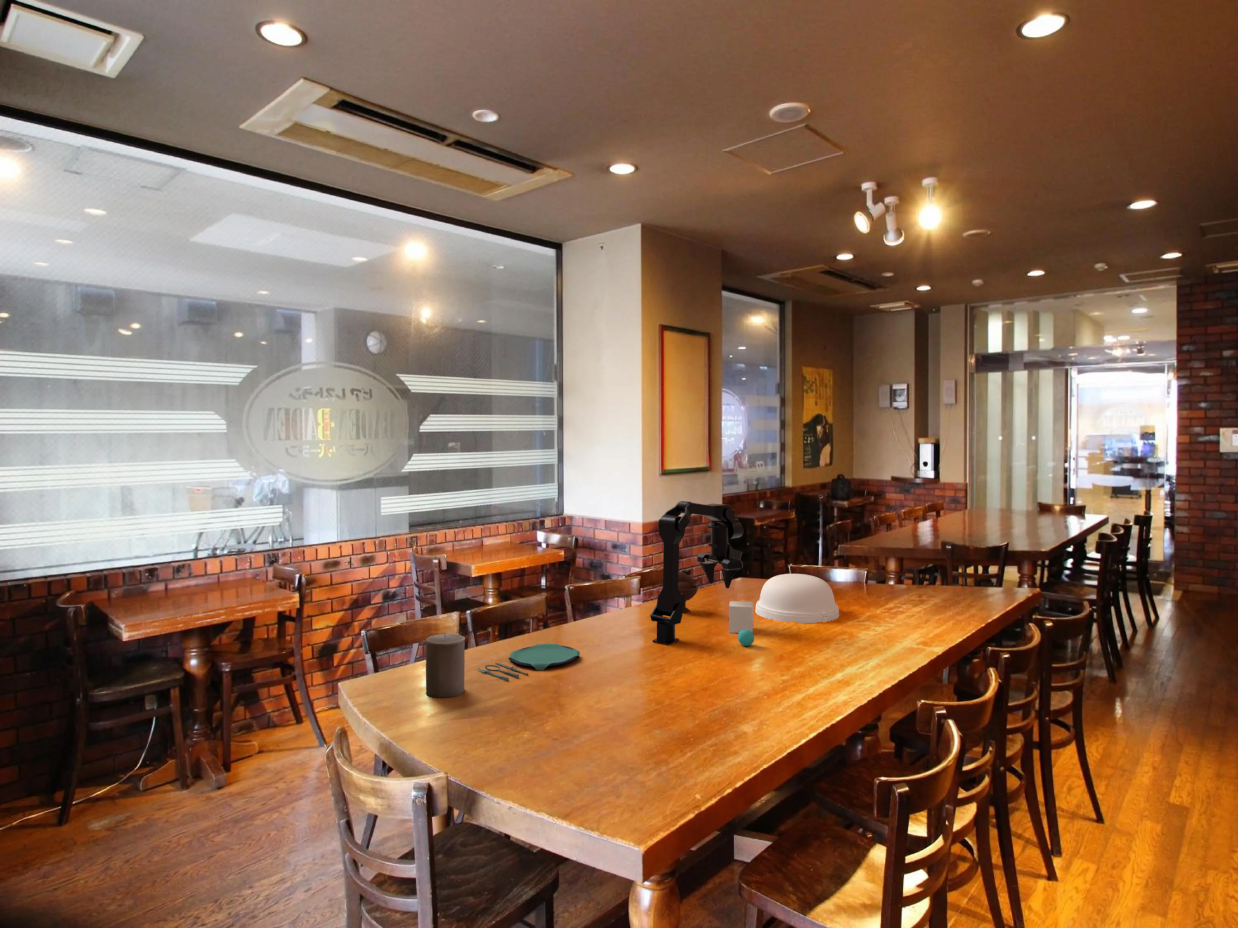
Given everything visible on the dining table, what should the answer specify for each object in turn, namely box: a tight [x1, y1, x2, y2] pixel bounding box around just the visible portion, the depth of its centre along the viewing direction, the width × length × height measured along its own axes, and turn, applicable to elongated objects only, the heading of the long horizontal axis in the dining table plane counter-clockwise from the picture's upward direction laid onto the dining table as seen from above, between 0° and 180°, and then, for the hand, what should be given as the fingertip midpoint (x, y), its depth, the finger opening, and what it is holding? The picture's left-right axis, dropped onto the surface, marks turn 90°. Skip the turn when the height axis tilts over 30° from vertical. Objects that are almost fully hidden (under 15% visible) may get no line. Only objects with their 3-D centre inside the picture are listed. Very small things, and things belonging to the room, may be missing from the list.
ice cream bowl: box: [678, 571, 699, 614], centre depth 271 cm, size 11×11×15 cm
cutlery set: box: [474, 643, 580, 682], centre depth 210 cm, size 20×30×2 cm, turn 135°
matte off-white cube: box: [728, 600, 754, 634], centre depth 245 cm, size 8×8×9 cm
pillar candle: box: [425, 633, 466, 699], centre depth 186 cm, size 10×10×15 cm
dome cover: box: [755, 573, 840, 624], centre depth 269 cm, size 32×30×14 cm
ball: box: [737, 629, 755, 647], centre depth 227 cm, size 5×5×5 cm
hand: (719, 585), depth 251 cm, fingers open, 9 cm apart
